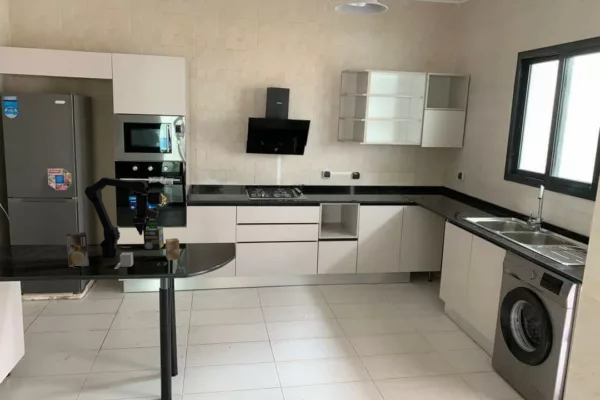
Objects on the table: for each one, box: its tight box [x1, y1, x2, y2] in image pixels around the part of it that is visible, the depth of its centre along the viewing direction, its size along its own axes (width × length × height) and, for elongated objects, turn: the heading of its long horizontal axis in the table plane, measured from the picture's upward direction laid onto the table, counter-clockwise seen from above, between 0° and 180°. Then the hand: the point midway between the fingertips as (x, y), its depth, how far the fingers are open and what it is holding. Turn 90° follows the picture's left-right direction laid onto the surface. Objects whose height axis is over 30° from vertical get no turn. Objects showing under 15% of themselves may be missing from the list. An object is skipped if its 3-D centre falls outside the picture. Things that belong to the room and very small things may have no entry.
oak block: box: [165, 238, 181, 261], centre depth 252 cm, size 6×6×10 cm
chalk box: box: [142, 222, 165, 250], centre depth 274 cm, size 9×9×15 cm
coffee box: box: [65, 232, 90, 268], centre depth 237 cm, size 9×6×16 cm
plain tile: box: [114, 262, 121, 270], centre depth 238 cm, size 10×10×1 cm
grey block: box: [119, 251, 134, 268], centre depth 238 cm, size 5×5×6 cm
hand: (142, 233), depth 253 cm, fingers open, 9 cm apart
